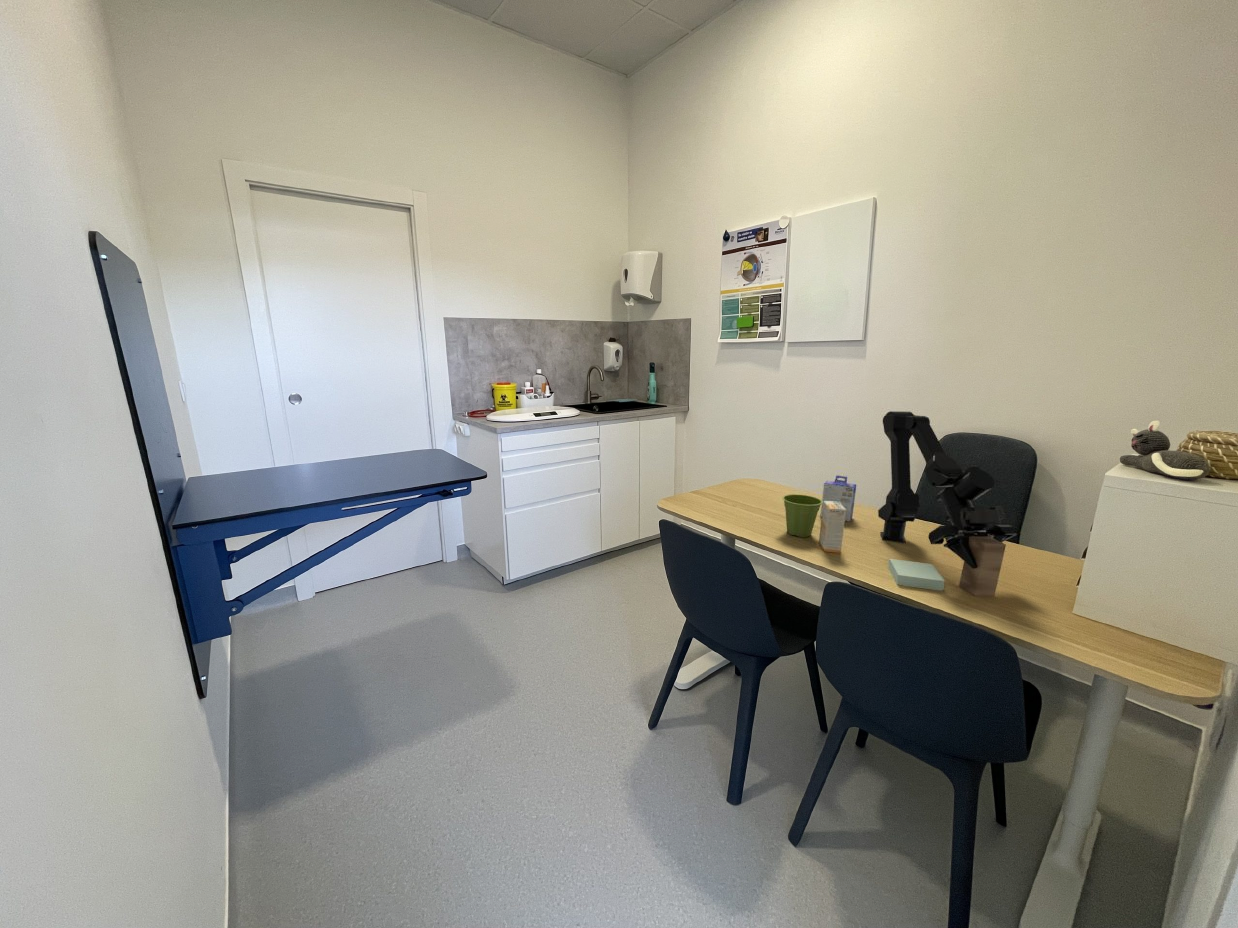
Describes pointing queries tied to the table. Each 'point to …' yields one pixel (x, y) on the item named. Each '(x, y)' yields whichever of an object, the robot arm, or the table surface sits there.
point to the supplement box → (832, 526)
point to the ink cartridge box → (840, 494)
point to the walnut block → (983, 566)
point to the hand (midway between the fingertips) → (986, 567)
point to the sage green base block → (916, 574)
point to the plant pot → (801, 513)
